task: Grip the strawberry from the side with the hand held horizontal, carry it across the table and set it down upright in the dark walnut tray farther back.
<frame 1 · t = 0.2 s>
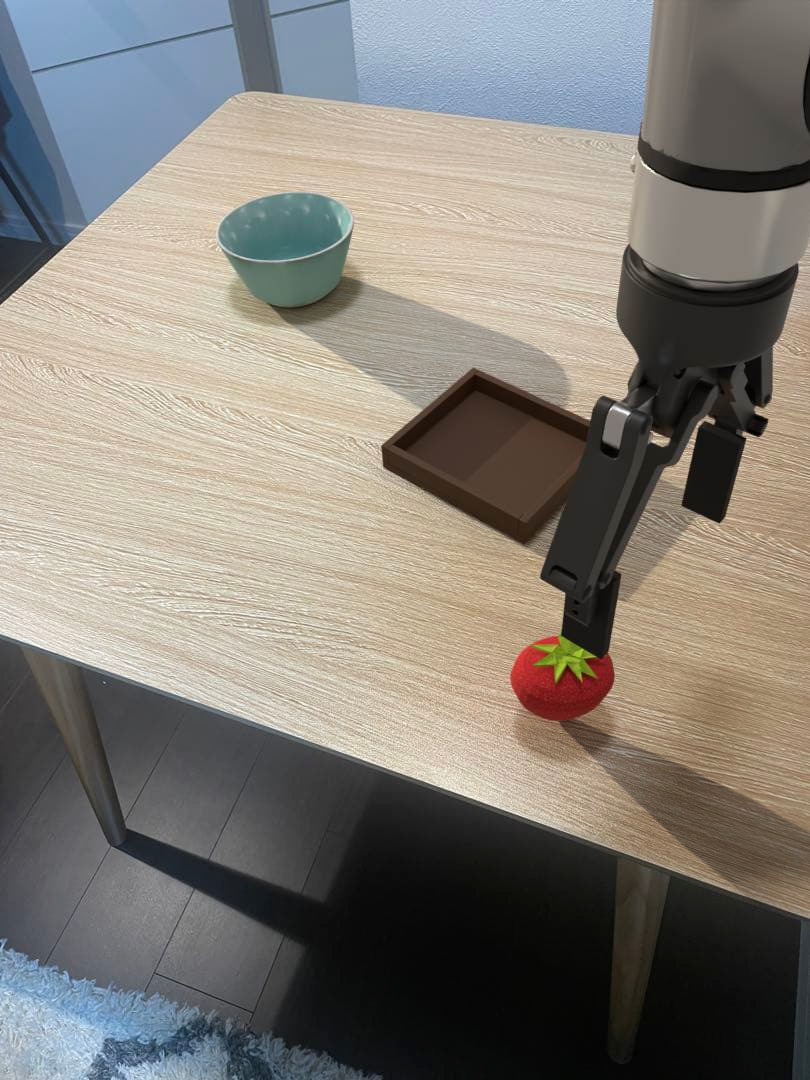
hand: (647, 574, 55), 18 cm above the table, tool pointing down, fingers open, 13 cm apart
strawberry: (556, 715, 70), on the table
bowl: (295, 288, 110), on the table
tray: (496, 460, 88), on the table
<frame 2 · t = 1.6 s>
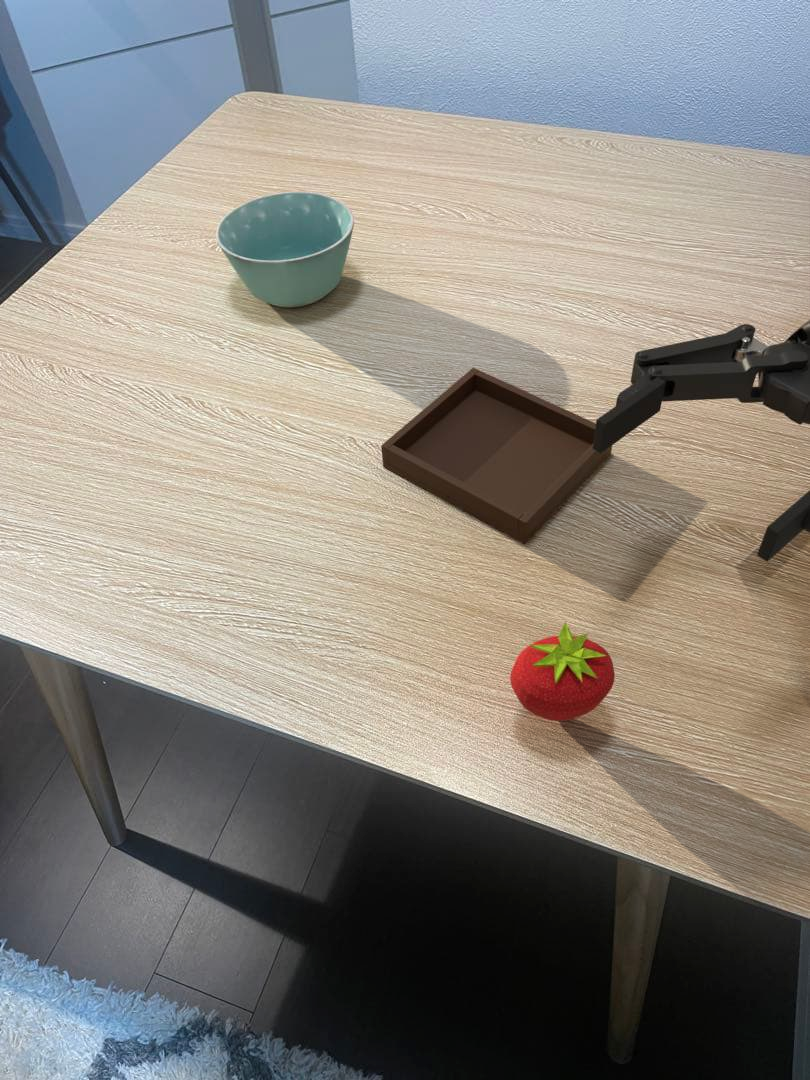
hand: (677, 487, 60), 18 cm above the table, tool horizontal, fingers open, 13 cm apart
nothing on the table moved.
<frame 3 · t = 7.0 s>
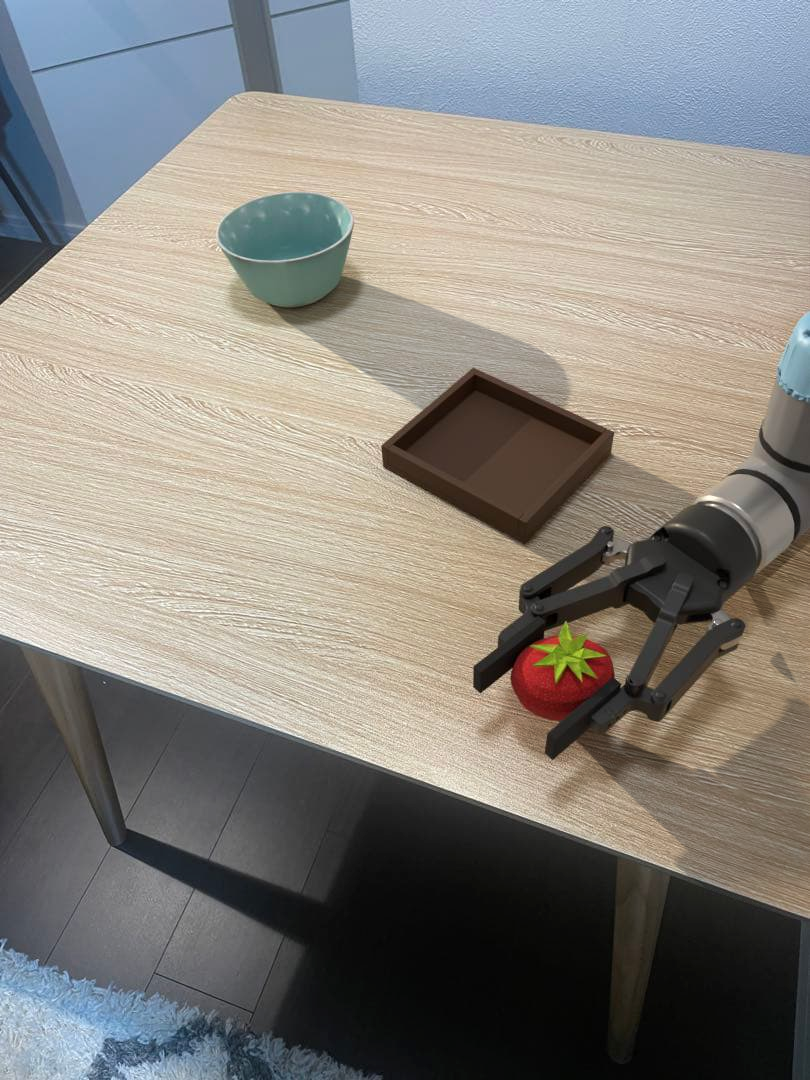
hand: (512, 712, 63), 6 cm above the table, tool horizontal, fingers closed on strawberry, 6 cm apart
strawberry: (556, 715, 70), on the table, touching gripper
everything else where it was.
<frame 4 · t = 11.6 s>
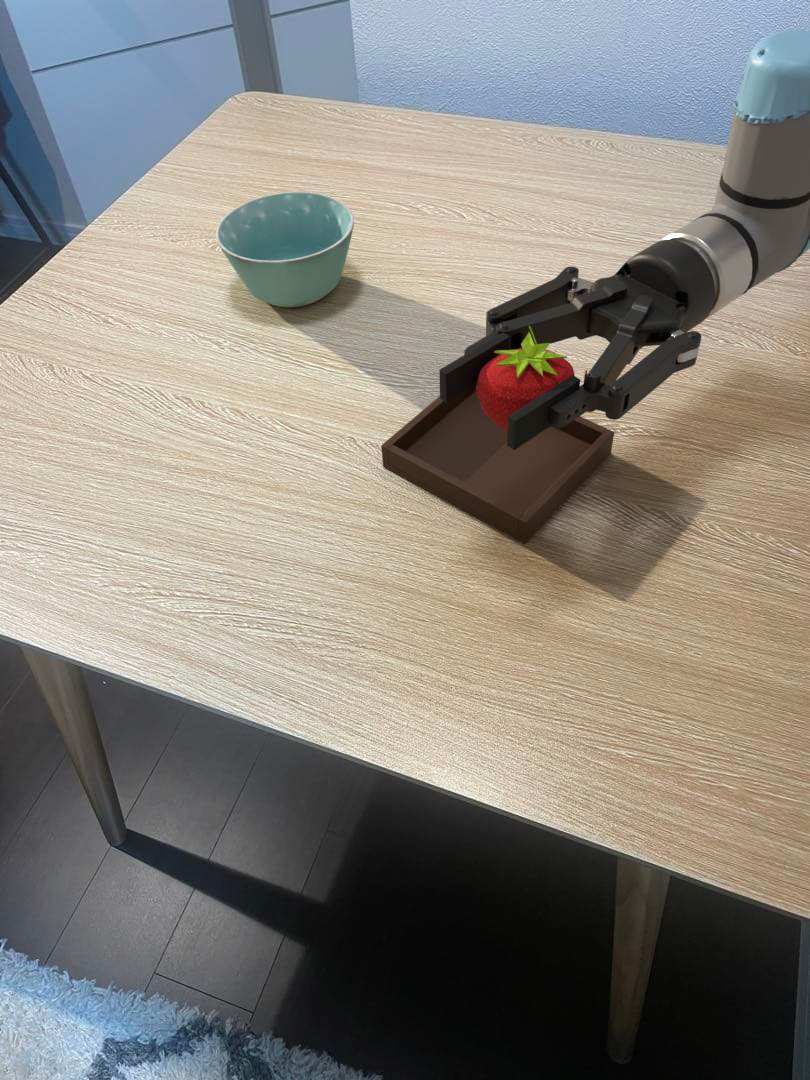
hand: (476, 409, 66), 18 cm above the table, tool horizontal, fingers closed on strawberry, 6 cm apart
strawberry: (522, 440, 72), point 12 cm above the table, touching gripper
everything else where it was.
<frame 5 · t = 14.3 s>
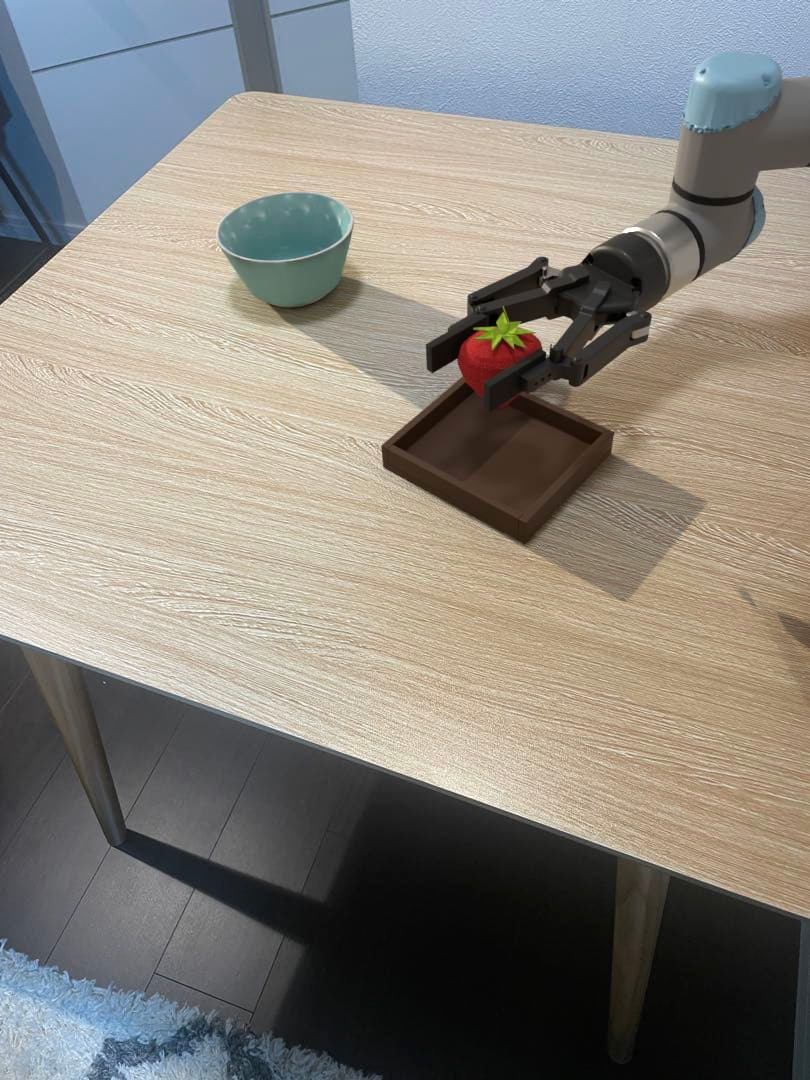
hand: (457, 377, 77), 13 cm above the table, tool horizontal, fingers closed on strawberry, 6 cm apart
strawberry: (498, 406, 83), point 7 cm above the table, touching gripper
everything else where it was.
when the fingers open (7 cm above the table, at t = 16.4 s): strawberry stays where it is, resting on tray.
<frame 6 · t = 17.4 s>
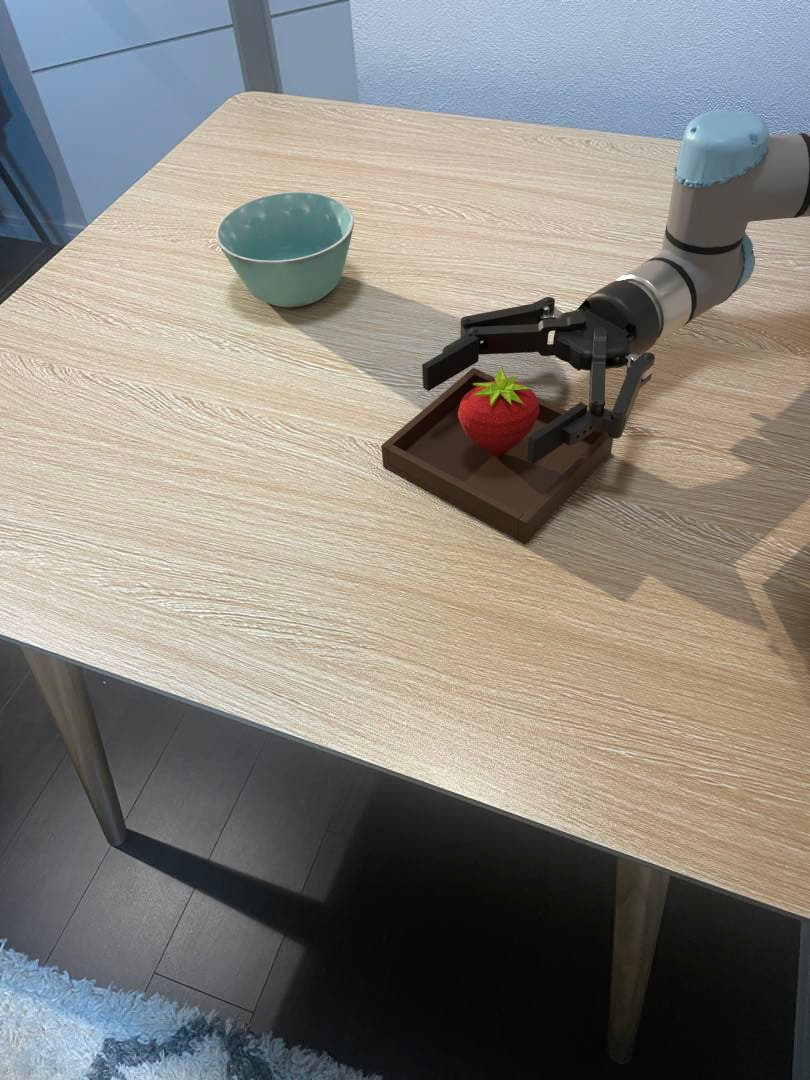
hand: (475, 413, 81), 8 cm above the table, tool horizontal, fingers open, 13 cm apart
strawberry: (497, 455, 88), point 1 cm above the table, touching tray
everything else where it was.
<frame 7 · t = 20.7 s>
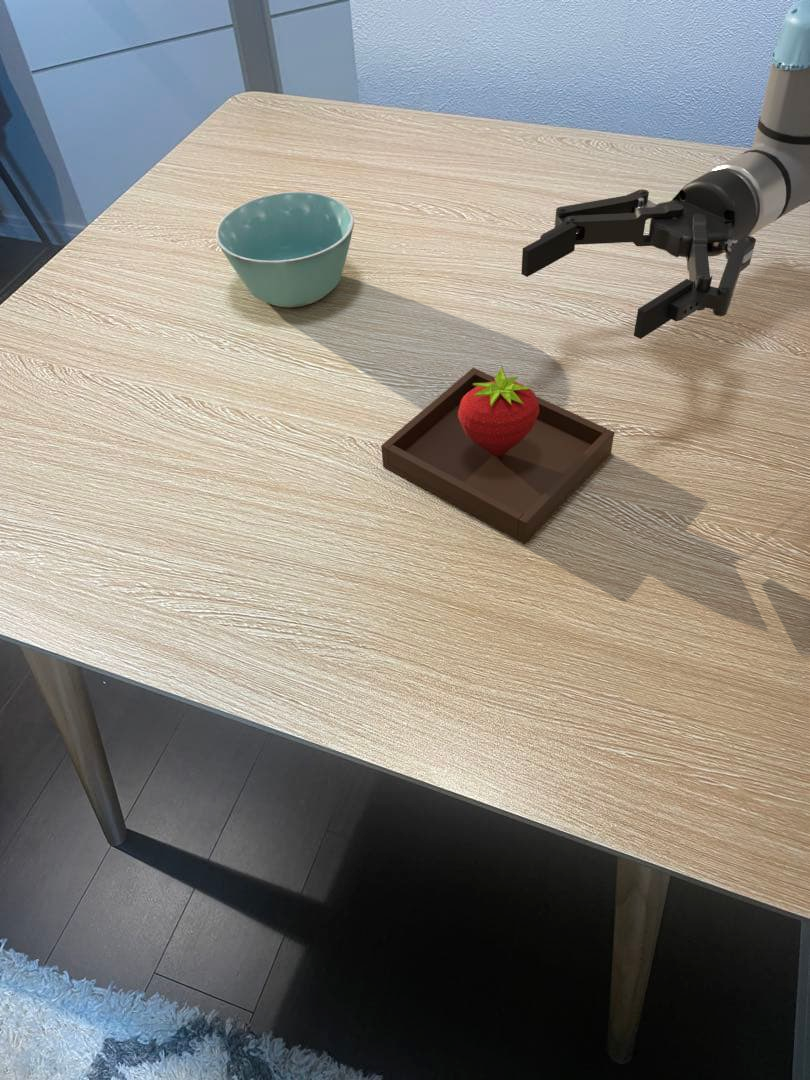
hand: (579, 292, 82), 14 cm above the table, tool horizontal, fingers open, 13 cm apart
nothing on the table moved.
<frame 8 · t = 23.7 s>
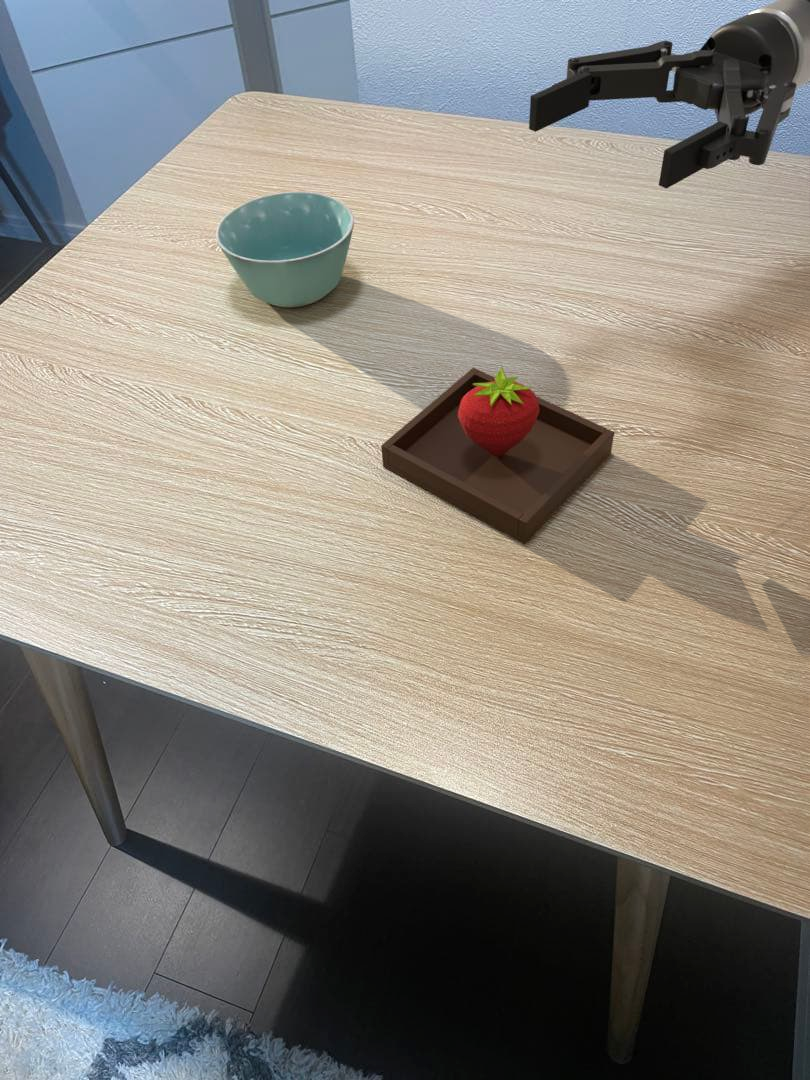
hand: (595, 140, 71), 28 cm above the table, tool horizontal, fingers open, 13 cm apart
nothing on the table moved.
at the end: strawberry inside the target area in the tray (0.1 cm from its centre), point 0.6 cm above the tray's base; strawberry tilted 0°; the gripper is holding nothing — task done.
